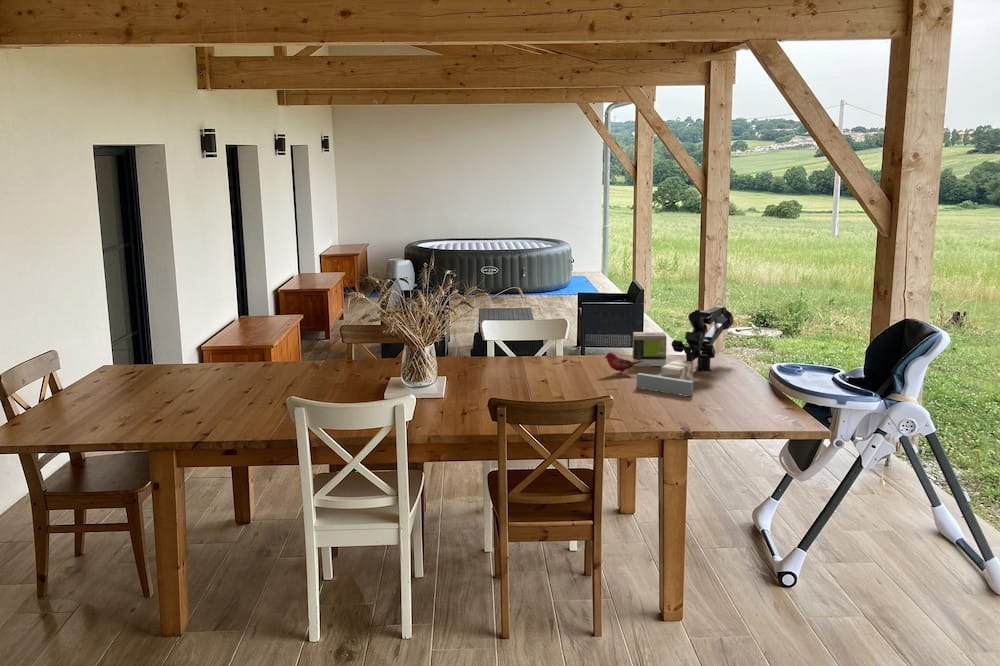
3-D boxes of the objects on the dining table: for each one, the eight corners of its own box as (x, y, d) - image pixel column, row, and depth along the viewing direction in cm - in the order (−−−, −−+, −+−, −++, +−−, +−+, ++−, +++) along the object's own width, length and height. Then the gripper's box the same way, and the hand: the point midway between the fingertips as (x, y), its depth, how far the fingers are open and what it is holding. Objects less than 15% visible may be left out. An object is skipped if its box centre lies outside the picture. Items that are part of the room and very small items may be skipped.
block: (674, 379, 382) (675, 359, 380) (692, 382, 378) (693, 362, 376) (660, 387, 369) (661, 367, 367) (678, 390, 365) (679, 369, 363)
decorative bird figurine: (603, 373, 392) (603, 351, 389) (642, 373, 392) (643, 351, 390) (604, 375, 389) (604, 353, 387) (643, 374, 389) (644, 353, 387)
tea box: (664, 362, 412) (665, 331, 409) (665, 367, 403) (667, 336, 399) (631, 361, 414) (632, 331, 411) (632, 366, 404) (633, 335, 401)
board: (639, 386, 370) (639, 372, 369) (692, 395, 357) (693, 381, 356) (636, 388, 368) (636, 374, 367) (690, 396, 355) (691, 382, 354)
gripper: (673, 322, 387) (662, 350, 381) (714, 326, 377) (703, 356, 370) (680, 336, 395) (669, 364, 389) (720, 341, 385) (709, 370, 379)
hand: (687, 364), depth 381 cm, fingers closed
